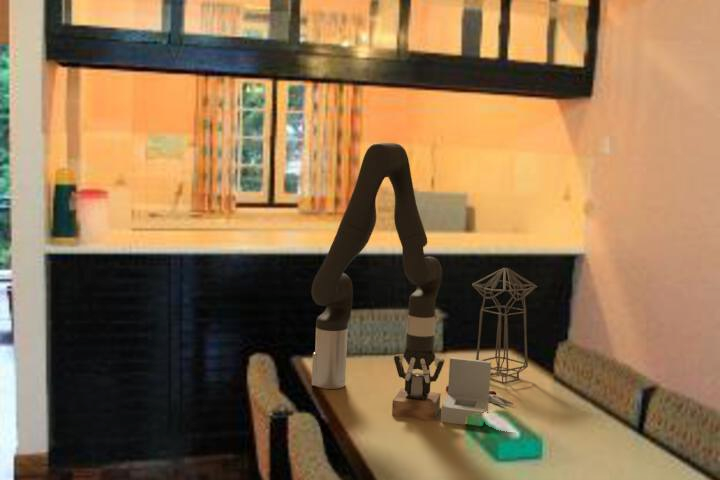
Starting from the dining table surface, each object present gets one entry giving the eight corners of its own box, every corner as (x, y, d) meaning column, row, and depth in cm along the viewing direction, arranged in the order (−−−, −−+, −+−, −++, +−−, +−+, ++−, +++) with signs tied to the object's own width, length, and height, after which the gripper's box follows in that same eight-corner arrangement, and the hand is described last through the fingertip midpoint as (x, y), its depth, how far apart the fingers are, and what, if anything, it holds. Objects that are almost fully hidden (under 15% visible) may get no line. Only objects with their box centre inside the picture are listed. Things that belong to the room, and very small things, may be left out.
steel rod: (407, 412, 205) (409, 376, 204) (410, 407, 209) (412, 372, 208) (422, 414, 204) (424, 378, 203) (424, 409, 208) (426, 373, 207)
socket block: (391, 415, 203) (392, 400, 202) (400, 402, 213) (401, 388, 213) (433, 420, 200) (433, 405, 200) (439, 407, 211) (440, 393, 210)
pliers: (496, 412, 210) (496, 403, 209) (443, 393, 225) (444, 384, 225) (523, 405, 217) (523, 396, 217) (470, 387, 232) (471, 378, 232)
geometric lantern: (503, 388, 230) (508, 273, 227) (465, 376, 242) (469, 266, 239) (537, 380, 240) (542, 269, 236) (498, 368, 252) (502, 263, 249)
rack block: (440, 421, 200) (443, 369, 198) (447, 406, 212) (450, 357, 210) (483, 427, 197) (486, 374, 195) (487, 411, 209) (491, 361, 207)
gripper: (391, 332, 202) (388, 395, 204) (445, 337, 199) (441, 401, 201) (397, 326, 210) (394, 387, 212) (449, 331, 206) (445, 393, 208)
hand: (417, 394), depth 206 cm, fingers closed on steel rod, 4 cm apart
